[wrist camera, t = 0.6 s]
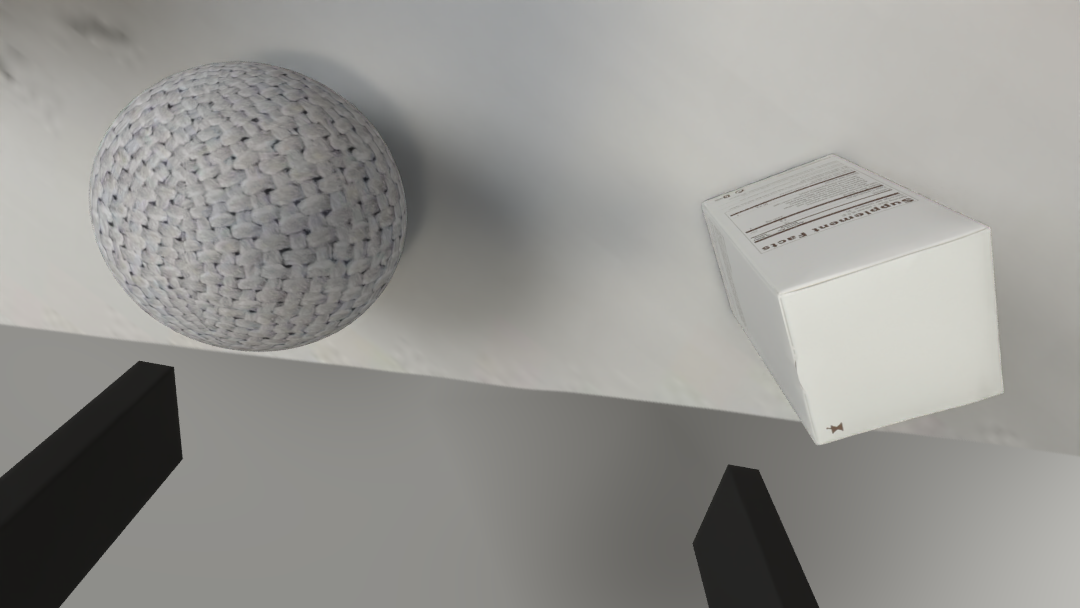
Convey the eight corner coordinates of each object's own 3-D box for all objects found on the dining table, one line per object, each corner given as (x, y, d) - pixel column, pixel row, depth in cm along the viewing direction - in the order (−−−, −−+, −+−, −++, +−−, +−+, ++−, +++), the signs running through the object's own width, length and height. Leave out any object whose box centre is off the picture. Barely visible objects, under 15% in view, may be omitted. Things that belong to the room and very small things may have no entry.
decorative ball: (181, 37, 35) (-53, 50, 21) (434, 71, 35) (361, 104, 22) (212, 269, 41) (48, 391, 28) (425, 294, 42) (364, 425, 28)
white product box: (859, 273, 40) (1011, 400, 27) (730, 314, 42) (814, 453, 29) (837, 148, 37) (1001, 223, 23) (697, 199, 38) (775, 296, 25)
